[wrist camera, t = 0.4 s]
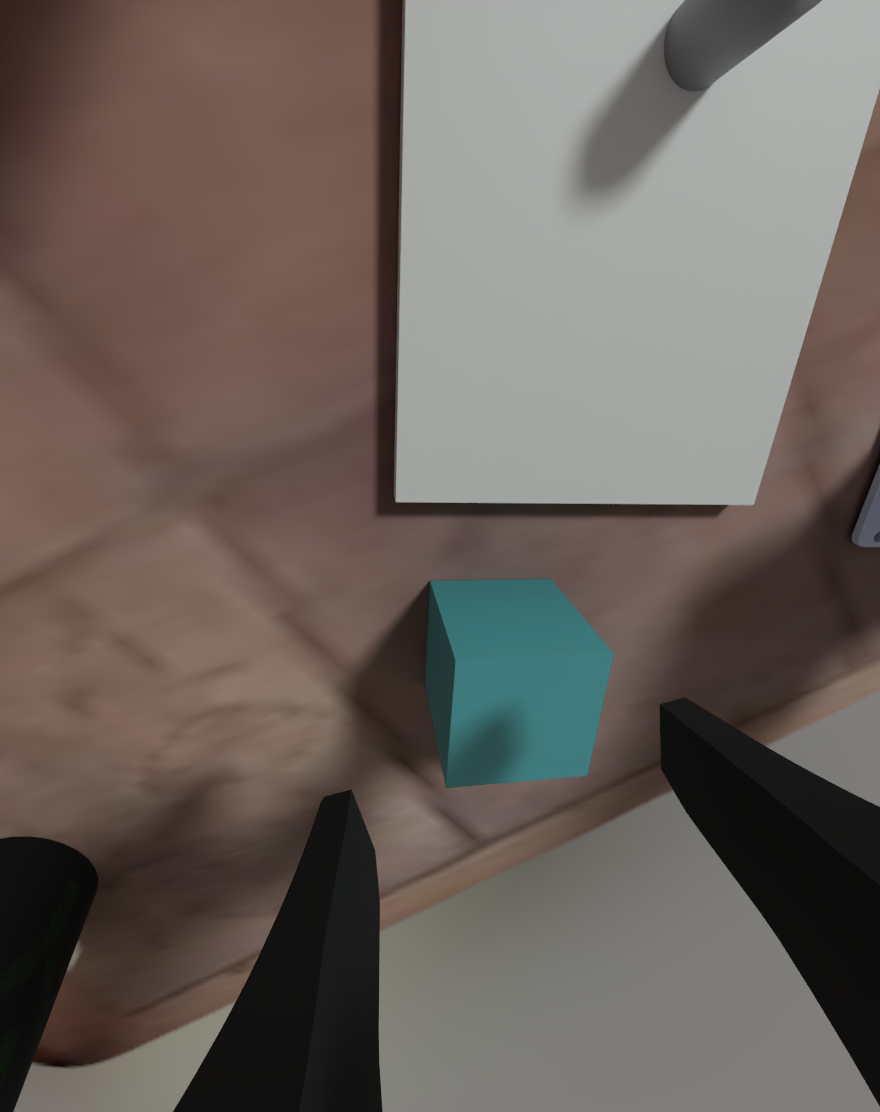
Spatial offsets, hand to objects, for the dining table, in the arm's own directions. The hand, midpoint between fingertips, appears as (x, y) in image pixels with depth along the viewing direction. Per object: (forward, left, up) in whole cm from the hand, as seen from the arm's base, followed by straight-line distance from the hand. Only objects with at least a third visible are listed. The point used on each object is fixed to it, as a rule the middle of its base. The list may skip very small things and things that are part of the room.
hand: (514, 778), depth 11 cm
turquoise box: (-2, +2, -10) cm, 10 cm away
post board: (-5, -14, -10) cm, 18 cm away
